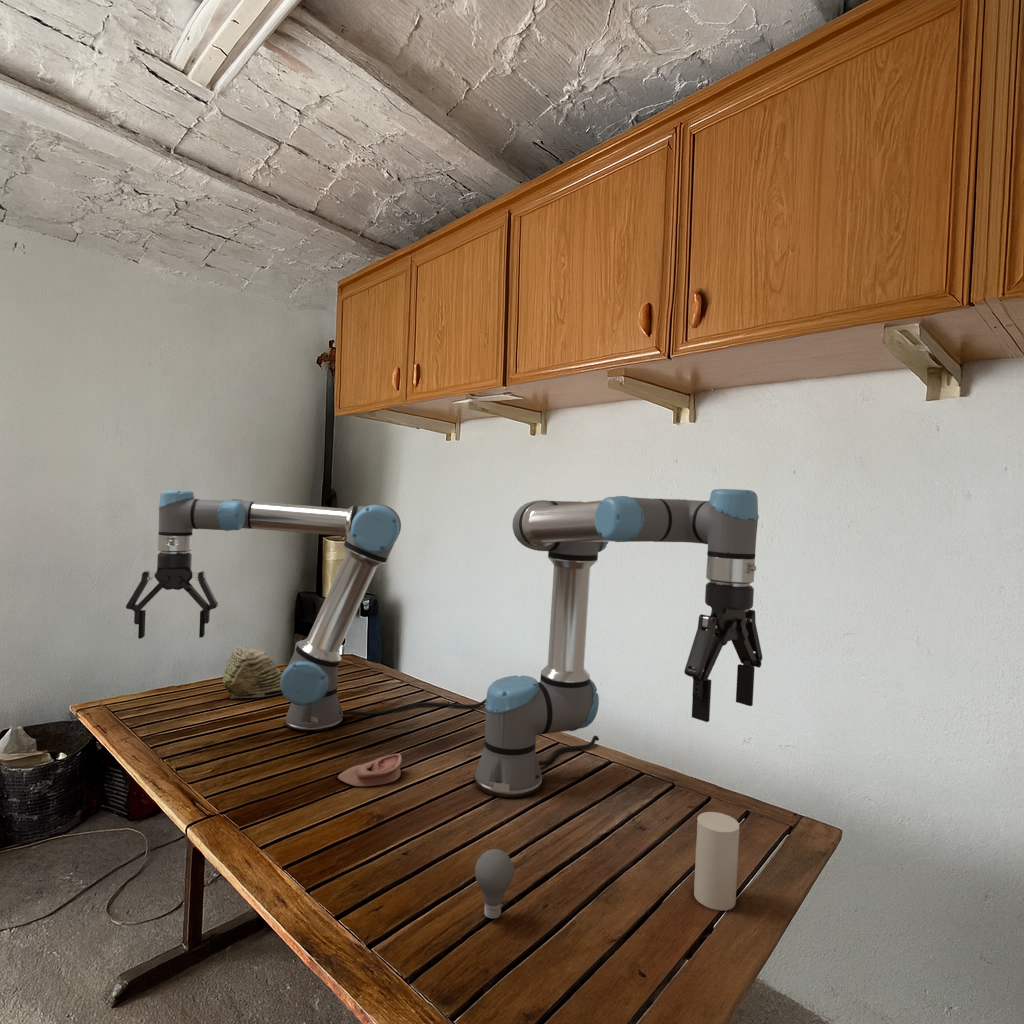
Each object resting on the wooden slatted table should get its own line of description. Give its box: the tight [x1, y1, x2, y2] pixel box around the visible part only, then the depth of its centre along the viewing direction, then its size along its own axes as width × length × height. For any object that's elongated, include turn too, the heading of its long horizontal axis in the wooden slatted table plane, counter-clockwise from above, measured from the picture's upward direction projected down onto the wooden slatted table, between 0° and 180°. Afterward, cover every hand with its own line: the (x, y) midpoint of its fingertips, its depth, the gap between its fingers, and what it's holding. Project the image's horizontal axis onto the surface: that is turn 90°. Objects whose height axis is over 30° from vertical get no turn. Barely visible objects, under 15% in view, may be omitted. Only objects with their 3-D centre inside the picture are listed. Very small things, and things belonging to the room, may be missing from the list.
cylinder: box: [693, 811, 741, 912], centre depth 105 cm, size 7×7×13 cm
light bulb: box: [474, 848, 515, 919], centre depth 98 cm, size 6×6×10 cm
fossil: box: [222, 646, 283, 699], centre depth 198 cm, size 9×18×15 cm, turn 132°
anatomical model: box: [337, 753, 403, 787], centre depth 144 cm, size 13×4×12 cm
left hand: (172, 637), depth 158 cm, fingers open, 13 cm apart
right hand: (723, 711), depth 105 cm, fingers open, 13 cm apart
